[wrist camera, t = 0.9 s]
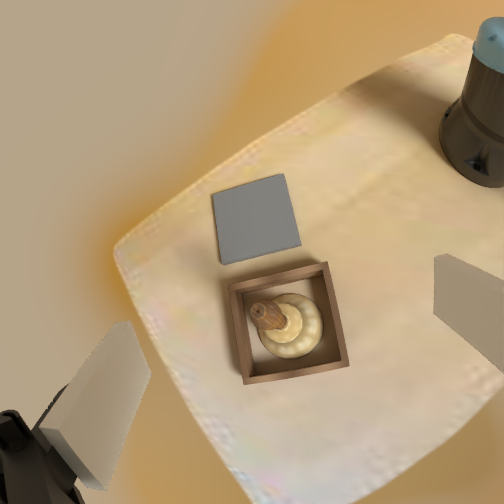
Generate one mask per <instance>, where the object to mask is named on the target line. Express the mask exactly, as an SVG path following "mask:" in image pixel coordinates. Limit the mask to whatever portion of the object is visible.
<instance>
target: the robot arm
mask: <svg viewBox="0 0 504 504" xmlns="http://www.w3.org/2000/svg"><path fill="white" fill-rule="evenodd" d="M472 49H473V55H472V59H471V63H470V67H469V71H468V74H467V78H466V81H465V84H464V88H463V91H462V94H461V96H460V97H459V98H458V99H457V100H456V101H455V102H454V103H453V104H452V105H451V106H450V107H449V108H448V109H447V110H446V112H445V114H444V115H443V118H442V121H441V124H440V128H439V139H440V143H441V146H442V149H443V151H444V153H445V155H446V156H447V158H448V160H449V161H450V162H451V164H452V165H453V166H454V167H455V168H456V169H457V170H458V171H459V172H460V173H461V174H462V175H464V176H465V177H466V178H468V179H469V180H471V181H473V182H475V183H477V184H479V185H482V186H485V187H490V188H499V187H503V186H504V17H492V18H489V19H487V20H485V21H484V22H483V23H482V24H481V26H480V28H479V31H478V35H477V39H476V41H475V42H474V44H473V48H472ZM433 314H435V315H436V316H437V317H438V318H440V319H441V320H442V321H443V322H444V323H446V324H447V325H448V326H449V327H450V328H452V329H453V330H454V331H455V332H456V333H458V334H459V335H460V336H461V337H462V338H464V339H465V340H466V341H467V342H468V343H469V344H471V345H472V346H473V347H474V348H475V349H476V350H478V351H479V352H480V353H481V354H482V355H483V356H484V357H486V358H487V359H488V360H489V361H490V362H491V363H492V364H493V365H495V366H496V367H497V368H498V369H499V370H500V371H501V372H502V373H503V374H504V281H503V280H501V279H499V278H497V277H495V276H493V275H491V274H489V273H487V272H485V271H483V270H481V269H479V268H477V267H475V266H473V265H471V264H469V263H466V262H464V261H462V260H460V259H458V258H456V257H453V256H451V255H449V254H444V255H440V256H436V257H434V310H433ZM151 375H152V373H151V371H150V369H149V366H148V364H147V361H146V359H145V357H144V354H143V352H142V349H141V347H140V344H139V341H138V339H137V336H136V334H135V331H134V328H133V326H132V323H131V321H124V322H118V323H115V324H114V325H113V326H112V328H111V329H110V330H109V331H108V333H107V334H106V336H105V337H104V338H103V339H102V340H101V342H100V343H99V344H98V346H97V347H96V348H95V350H94V351H93V352H92V353H91V355H90V356H89V358H88V359H87V360H86V361H85V363H84V364H83V365H82V367H81V368H80V369H79V371H78V372H77V373H76V375H75V376H74V378H73V379H72V380H71V382H70V383H69V384H67V385H66V386H65V387H64V388H63V389H61V390H60V391H59V392H58V393H57V395H56V396H55V398H54V399H53V402H51V403H50V405H49V406H48V409H46V410H45V412H44V413H43V414H42V416H41V417H40V419H39V420H38V421H37V423H36V424H35V426H34V427H33V429H32V430H30V429H29V428H28V426H27V425H26V423H25V422H24V421H23V419H22V417H21V416H20V414H19V413H18V412H17V411H15V410H6V411H2V412H1V413H0V504H85V502H84V500H83V498H82V496H81V494H80V491H79V490H78V489H77V487H76V486H75V485H74V483H75V481H76V478H77V477H78V478H79V479H80V480H81V482H82V483H83V484H84V485H85V486H86V487H87V488H92V489H98V490H105V491H107V489H108V486H109V483H110V480H111V478H112V474H113V472H114V469H115V467H116V464H117V461H118V459H119V456H120V453H121V451H122V448H123V445H124V443H125V440H126V437H127V434H128V432H129V430H130V427H131V425H132V422H133V419H134V417H135V414H136V412H137V409H138V407H139V404H140V402H141V399H142V397H143V394H144V392H145V389H146V387H147V385H148V382H149V380H150V377H151Z"/></svg>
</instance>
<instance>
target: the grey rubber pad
mask: <svg viewBox="0 0 504 504" xmlns="http://www.w3.org/2000/svg"><path fill="white" fill-rule="evenodd" d="M213 201H214V209H215V217H216V225H217V233H218V240H219V248H220V255H221V263H222V264H223V265H227V264H231V263H235V262H239V261H243V260H247V259H251V258H255V257H259V256H263V255H267V254H271V253H275V252H279V251H282V250H286V249H290V248H294V247H298V246H301V241H300V237H299V233H298V229H297V224H296V220H295V216H294V212H293V208H292V204H291V200H290V196H289V192H288V188H287V184H286V180H285V176H284V174H280V175H276V176H273V177H269V178H266V179H262V180H259V181H255V182H252V183H249V184H245V185H242V186H239V187H235V188H232V189H229V190H226V191H223V192H219V193H216V194H213Z"/></svg>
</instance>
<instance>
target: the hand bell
mask: <svg viewBox="0 0 504 504" xmlns="http://www.w3.org/2000/svg"><path fill="white" fill-rule="evenodd" d="M250 317H251V320H252V322H253V324H254V325H255V326H257V327H258V331H259V336H260V339H261V341H262V343H263V345H264V346H265V347H266V349H267V350H268V351H270V352H271V353H272V354H274V355H276V356H278V357H281V358H285V359H294V358H299V357H302V356H304V355H306V354H308V353H309V352H311V351H312V350H313V349H314V348H315V347H316V345H317V344H318V342H319V341H320V339H321V336H322V332H323V319H322V315H321V312H320V310H319V309H318V307H317V306H316V305H315V303H314V302H312V301H311V300H310V299H308V298H306V297H304V296H302V295H298V294H285V295H281V296H278V297H276V298H275V299H273V300H272V301H269V300H261V301H258V302H257V303H255V304H254V305H252V307H251V308H250Z"/></svg>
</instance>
